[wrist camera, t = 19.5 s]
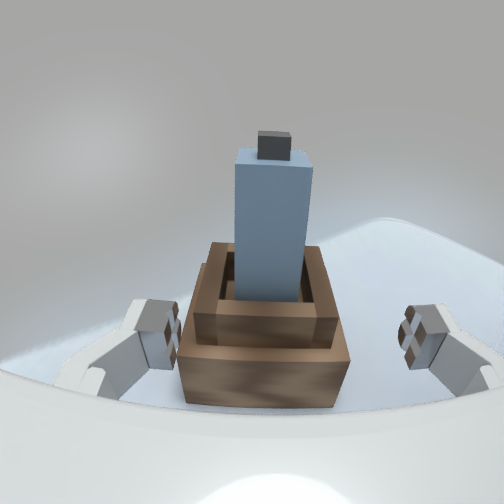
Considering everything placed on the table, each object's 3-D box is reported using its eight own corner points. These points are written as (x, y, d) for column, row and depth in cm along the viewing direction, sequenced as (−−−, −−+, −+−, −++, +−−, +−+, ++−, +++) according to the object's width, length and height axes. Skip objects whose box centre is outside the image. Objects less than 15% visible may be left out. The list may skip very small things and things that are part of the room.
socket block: (316, 314, 34) (330, 240, 30) (333, 407, 24) (360, 330, 19) (205, 310, 34) (200, 235, 30) (186, 402, 24) (170, 324, 20)
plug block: (290, 289, 28) (305, 130, 21) (294, 324, 24) (315, 142, 17) (238, 287, 28) (240, 127, 21) (234, 322, 24) (235, 138, 18)
